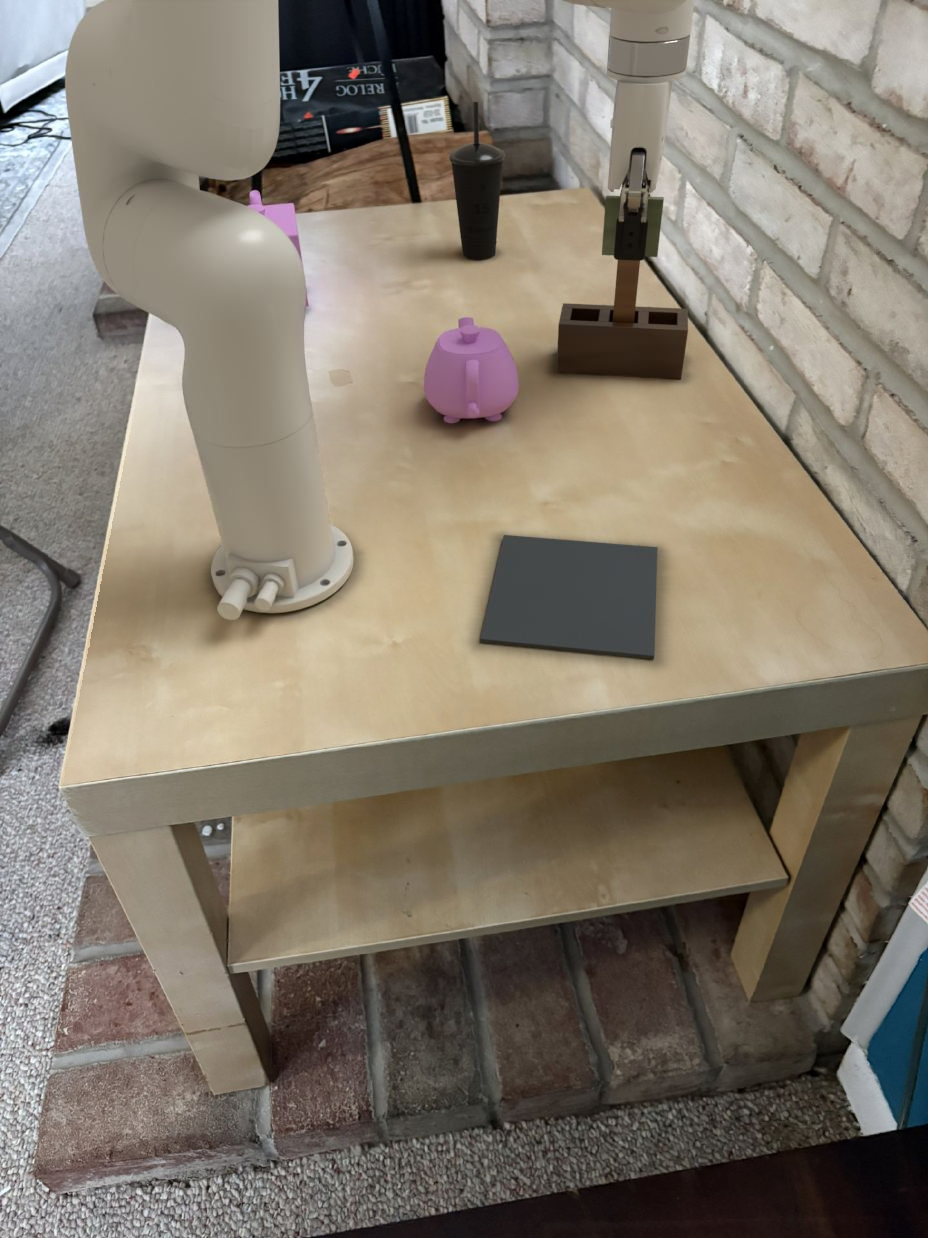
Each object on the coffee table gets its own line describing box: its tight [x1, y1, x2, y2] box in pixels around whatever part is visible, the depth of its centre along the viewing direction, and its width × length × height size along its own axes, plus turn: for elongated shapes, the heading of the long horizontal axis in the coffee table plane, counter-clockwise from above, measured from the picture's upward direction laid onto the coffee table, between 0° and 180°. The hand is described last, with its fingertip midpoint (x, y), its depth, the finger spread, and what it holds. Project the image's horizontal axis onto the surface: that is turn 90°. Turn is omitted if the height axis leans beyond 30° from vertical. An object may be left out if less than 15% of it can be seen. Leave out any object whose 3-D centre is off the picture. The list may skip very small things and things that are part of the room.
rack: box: [556, 302, 689, 380], centre depth 107 cm, size 6×14×6 cm, turn 80°
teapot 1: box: [246, 189, 309, 307], centre depth 122 cm, size 20×10×12 cm, turn 10°
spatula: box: [601, 195, 665, 323], centre depth 103 cm, size 2×6×19 cm, turn 80°
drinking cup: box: [448, 101, 506, 261], centre depth 129 cm, size 8×8×20 cm
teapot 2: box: [423, 316, 520, 424], centre depth 100 cm, size 10×15×9 cm
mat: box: [479, 534, 658, 660], centre depth 79 cm, size 14×14×1 cm
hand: (630, 243), depth 99 cm, fingers open, 7 cm apart
